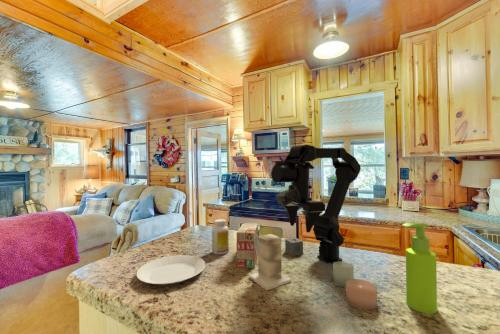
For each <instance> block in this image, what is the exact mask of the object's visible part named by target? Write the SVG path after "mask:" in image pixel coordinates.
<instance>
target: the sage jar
mask: <svg viewBox="0 0 500 334" xmlns="http://www.w3.org/2000/svg"><path fill="white" fill-rule="evenodd" d="M332 275H333V276H332V277H333V278H332V281H333V283H334V285H336V286H338V287H340V288H346V282H347V281H348V280H350V279H355V267H354V265H353V264H352V263H349V262H346V261H338V262H333V263H332Z"/></svg>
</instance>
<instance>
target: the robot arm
mask: <svg viewBox="0 0 500 334" xmlns="http://www.w3.org/2000/svg"><path fill="white" fill-rule="evenodd" d="M317 159H331V160H332V161H331V162H332V166H333V167H334V169H335V170H334V173H335V177H336V181H335V183H334V186H333V189H332V190H331V194H330V196H329V200H328V202H327V203H326V204H327V205H326V204H325V203H324V201H320V200H312V197H310V189H311V190H312V189H313V185H310V170H314V169H315V166H314V165H312V164H311V162H312V161H315V160H317ZM340 159H341V161H340ZM361 169H362V167H361V164H360V163H359V161H358V160H357V158H356V157H354V156H353V155H352V154H351V153H349V152H348V151H347V150H346V149H345V147H343V146H342V147H341V146H339V147H315V145H311V144H299V145H294V146H291V147H290V150H289V153H288V154H287V155H286V157H285V159H284V161H283V160H275V163H274V165H273V167H272V169H271V173H270V176H271V179H272V181H273V182H274V183H291V184H289V185H288V188H287V189H286V190H283V191H281V192H279V193H277V194H275V197H276V201H277V204H278V205H280V207H282V208H283V209H284V210H285V211H286V214H287V218H288V220H289V225H290V226H292V227H294V226H295V223H296V219H297V215H298V211H299V207H301V209H302V210H301V212H302V214H303V215H304V219H305V221H304V222H305V230H306V231H305V232H306V233H310V232H311V230H312V231H313V234H314V236H315V240H316V241H319V246H318V255H317V256H316V257H317V259H320V260H321V261H324V262H325V263H327V264H333V263H334V262H339V261H340V262H343V258H341V257H340V247H341V246H342V245H344V242H345V241H344V240H345V238H344V237H343V235H342V233H340V232H339V231H340V223H339V216H340V213H341V210H342V207H343V204H344V201H345V199H346V196H347V193H348V190H349V187H350V185H351V183H353V182H354V181H355V180H356V179H357V178H358V177H359V174H360V172H361Z"/></svg>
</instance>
